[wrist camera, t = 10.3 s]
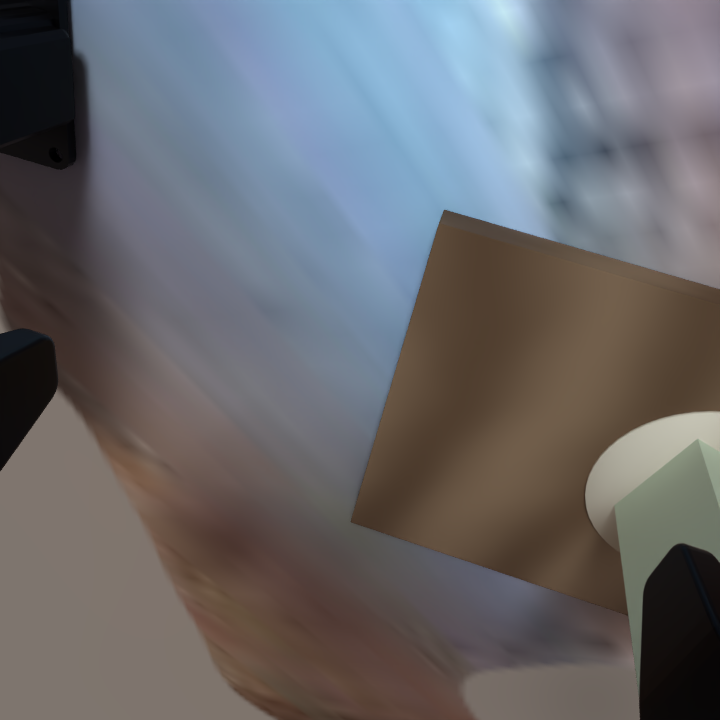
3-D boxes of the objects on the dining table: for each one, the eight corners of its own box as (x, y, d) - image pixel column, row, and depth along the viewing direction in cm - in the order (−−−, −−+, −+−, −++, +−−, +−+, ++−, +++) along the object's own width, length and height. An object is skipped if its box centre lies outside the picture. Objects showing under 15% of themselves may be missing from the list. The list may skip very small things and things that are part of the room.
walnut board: (357, 502, 28) (337, 558, 25) (443, 209, 20) (429, 248, 17) (715, 621, 27) (734, 694, 24) (963, 360, 19) (1032, 427, 16)
